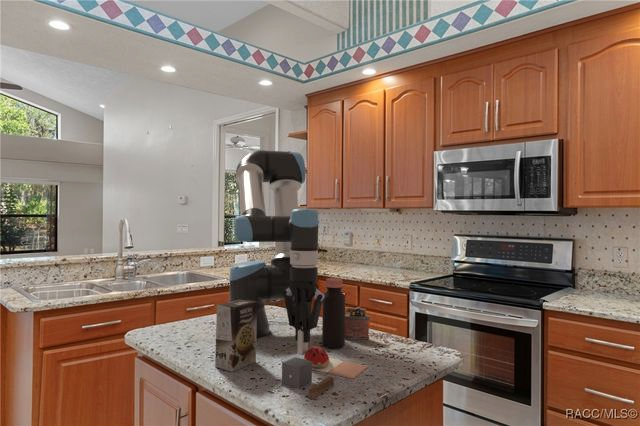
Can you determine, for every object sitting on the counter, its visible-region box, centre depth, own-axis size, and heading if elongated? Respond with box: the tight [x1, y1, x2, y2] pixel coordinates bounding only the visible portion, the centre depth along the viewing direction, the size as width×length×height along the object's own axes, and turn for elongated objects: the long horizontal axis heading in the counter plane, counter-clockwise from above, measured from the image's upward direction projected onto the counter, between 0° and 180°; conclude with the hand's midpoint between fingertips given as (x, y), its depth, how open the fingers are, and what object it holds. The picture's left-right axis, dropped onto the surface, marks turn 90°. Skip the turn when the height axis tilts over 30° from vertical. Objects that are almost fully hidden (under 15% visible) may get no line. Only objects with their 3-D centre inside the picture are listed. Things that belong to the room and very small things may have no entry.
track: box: [281, 353, 369, 379], centre depth 109 cm, size 21×9×1 cm, turn 60°
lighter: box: [345, 306, 370, 342], centre depth 132 cm, size 8×3×10 cm, turn 84°
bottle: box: [321, 277, 346, 350], centre depth 125 cm, size 7×7×20 cm
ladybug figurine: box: [304, 345, 330, 368], centre depth 109 cm, size 7×10×4 cm
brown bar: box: [308, 375, 335, 400], centre depth 92 cm, size 1×9×2 cm, turn 150°
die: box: [281, 357, 313, 390], centre depth 96 cm, size 5×5×5 cm
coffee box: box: [214, 299, 257, 372], centre depth 108 cm, size 9×6×16 cm
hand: (302, 353), depth 112 cm, fingers closed
